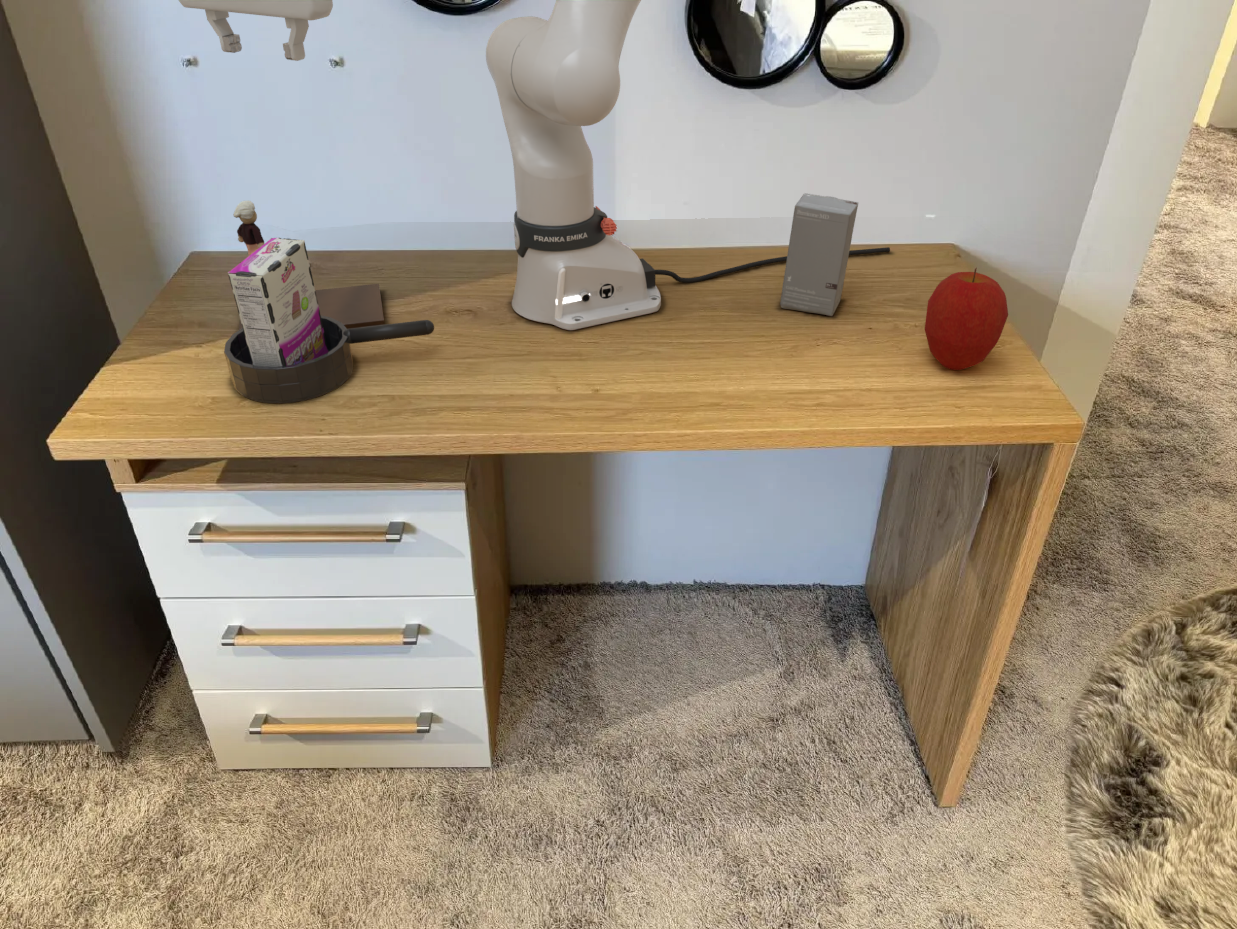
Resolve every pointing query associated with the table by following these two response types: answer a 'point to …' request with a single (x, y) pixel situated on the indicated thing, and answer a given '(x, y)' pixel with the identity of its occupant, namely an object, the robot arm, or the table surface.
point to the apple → (965, 319)
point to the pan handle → (389, 331)
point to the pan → (291, 369)
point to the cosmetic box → (818, 254)
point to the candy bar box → (278, 304)
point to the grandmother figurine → (248, 226)
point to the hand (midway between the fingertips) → (263, 55)
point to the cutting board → (351, 305)
